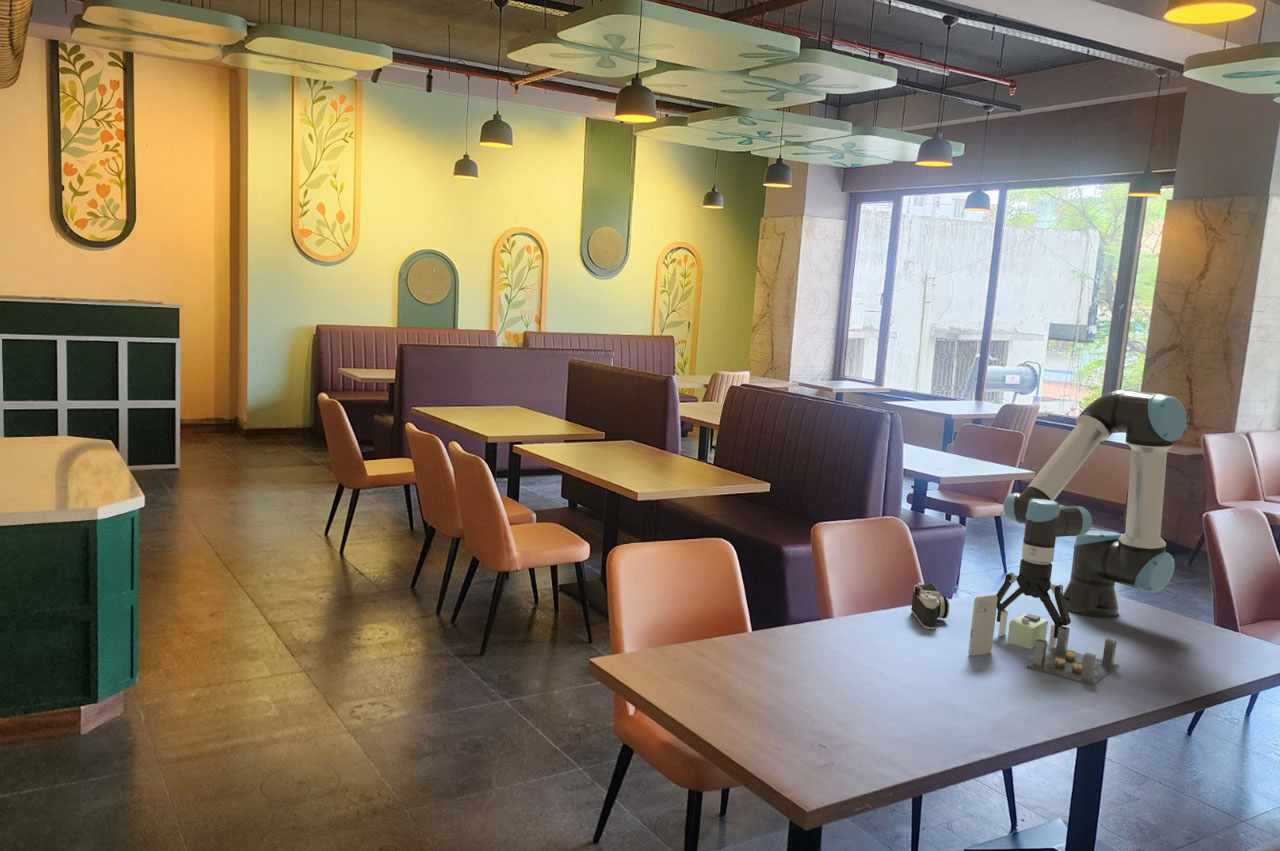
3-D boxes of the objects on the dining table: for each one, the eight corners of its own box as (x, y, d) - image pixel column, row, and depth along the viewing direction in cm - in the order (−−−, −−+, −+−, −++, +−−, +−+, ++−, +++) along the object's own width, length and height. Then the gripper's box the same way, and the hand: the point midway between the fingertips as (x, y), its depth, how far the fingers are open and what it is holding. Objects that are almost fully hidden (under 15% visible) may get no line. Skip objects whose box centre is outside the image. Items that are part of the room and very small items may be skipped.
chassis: (1055, 651, 246) (1058, 624, 245) (1118, 669, 236) (1122, 641, 235) (1026, 669, 232) (1029, 640, 231) (1091, 689, 222) (1096, 659, 221)
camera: (954, 631, 257) (959, 594, 256) (921, 629, 257) (925, 592, 256) (938, 612, 273) (942, 577, 271) (907, 609, 273) (911, 574, 272)
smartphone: (989, 652, 243) (996, 593, 241) (992, 653, 242) (999, 595, 240) (967, 655, 239) (974, 596, 237) (971, 657, 238) (978, 597, 236)
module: (1022, 635, 257) (1025, 610, 256) (1045, 642, 253) (1048, 616, 252) (1006, 644, 250) (1010, 617, 249) (1030, 651, 246) (1033, 624, 245)
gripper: (984, 551, 254) (974, 631, 257) (1081, 574, 238) (1069, 659, 241) (995, 547, 260) (986, 625, 262) (1091, 569, 243) (1080, 652, 246)
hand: (1026, 642), depth 252 cm, fingers open, 12 cm apart
